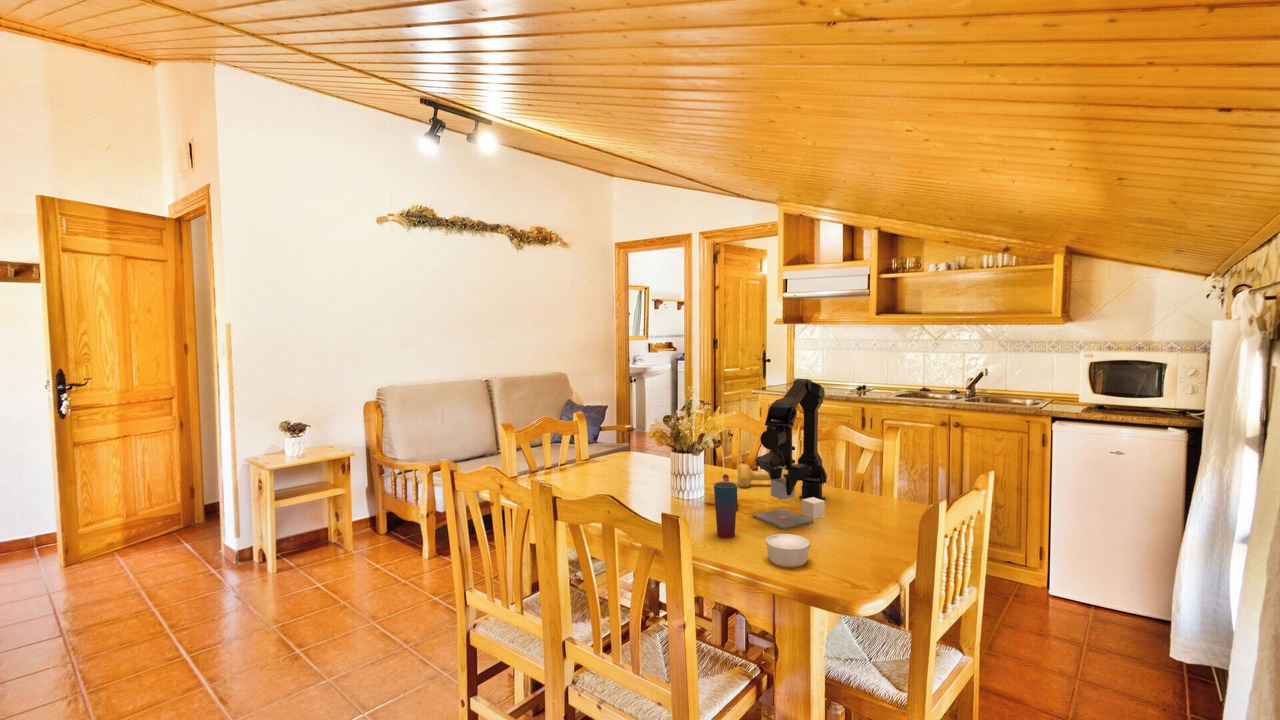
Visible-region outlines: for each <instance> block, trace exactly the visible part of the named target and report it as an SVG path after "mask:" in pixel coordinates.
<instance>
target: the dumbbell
mask: <svg viewBox="0 0 1280 720" xmlns="http://www.w3.org/2000/svg"><path fill="white" fill-rule="evenodd" d="M785 467H786V466H785ZM784 474H788V470H785V469H782V475H781V478H785V477H784V476H783V475H784ZM752 481H764V482H765V481H767V482H769V481H770V482H771V478H770V475H769V474H768V473H767V472H766V471H765V470H752V469H751V466H750V465H749V464H748V463H739V465H738V467H737V484H738V485H739V487H740V488H748V487H750V485H751V482H752Z"/></svg>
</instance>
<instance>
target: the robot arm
mask: <svg viewBox="0 0 1280 720" xmlns="http://www.w3.org/2000/svg"><path fill="white" fill-rule="evenodd" d="M825 393H826V391H825V388H824V387H823V386H822V385H821V384H818V383H817V382H815V381H814V382H813V381H812V380H811V379H809V378H796V379H794V381H793V385H791V387H790V388H789V389H788V391H787V392H786V393H785V395H784V396H783V397H782V398H778V399H776V400H775V401H773V402H772V403H771V405H770V406H769V407H768V410H767V411H768V412H767V415H766V419H765V421H764V422H765V423H764V426H765V427H766V430H764V431H763V432H762V433H761V435H760V438H759V440H760V444H761V445H762V447H764V448H765V449H766V450H769V452H767V453H765V454H763V455H760V456H757V458H756V459H755V466H757V467H759V468H760V470H762V471H766V472H767V473H768V474H769V475H770V478H771V480H773V479H778V478H781V475H782V469H785V470H788V474H784V475H783V476H784V477H785V478H786V487H787V495H788V496H789V495H791V493H792V491H793V489H794V490H795V487H796V485H797V483H798V482H799V481H801V483H802V484H801V495H799V496H798V497H799V498H800V499H801V500H802V499H807V498H811V497H814V498H817V499H820V500H825V499H826V497H825V496H823V484H827V480H828V479H827V478H828V474H827V472H826V470H825V467H824V466H823V459H822V458H821V455H820V454H819V452H818V446H819V445H818V443H819V441H818V440H819V439H818V437H819V436H818V432H819V431H818V430H819V429H818V428H819V426H818V425H819V424H818V423H819V409H820V408H821V406H822V404H823V403H824V397H825V395H826V394H825ZM799 405H800V407H801V408H802V411H803V429H802V431H803V434H802V435H803V438H802V440H803V443H802V444H803V445H802V447H803V448H802V449H803V450H802V454H801V455H800V457H798V459H797V464H795V463H796V459H794V458H793V451H795V450H796V446H794V445H793V427H794V425H795V424H794V423H795V421H796V418H797V416H798V411H797V407H798V406H799ZM785 466H786V467H785ZM771 480H770V481H771Z"/></svg>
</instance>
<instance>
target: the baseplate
mask: <svg viewBox="0 0 1280 720" xmlns="http://www.w3.org/2000/svg"><path fill="white" fill-rule="evenodd" d="M753 517H755V518H754V519H756V518H757V519H756V520H758V519H759V520H758V521H761V520H762V521H761V522H763V521H764V522H763V523H765V524H768V523H769V524H768V525H770V526H773V527H775V526H776V528H778V529H780V530H783V531H786V530H791V529H794V528H798V527H802V526H805V525H806V524H807V525H810V523H811V524H813V523H814V521H815V519H812V518H809V517H806V516H803V515H802V514H799V513H795V512H793V511H790V510H787V509H784V508H777V509H773V510H768V511H764V512H760V513H755V514H754V513H753V514H752V518H753ZM807 525H806V526H807Z"/></svg>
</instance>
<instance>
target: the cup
mask: <svg viewBox="0 0 1280 720" xmlns="http://www.w3.org/2000/svg"><path fill="white" fill-rule="evenodd" d="M738 485H739V484H738V483H736V482H734V481H729V482H728V481H724V480H722V481H717V482H714V483H713V492H714V493H713V494H714V508H715V521H716V535H717V537H719V538H722V539H732V538H735V535H736V521H737V520H736V519H737V510H736V504H737V500H738Z"/></svg>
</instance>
